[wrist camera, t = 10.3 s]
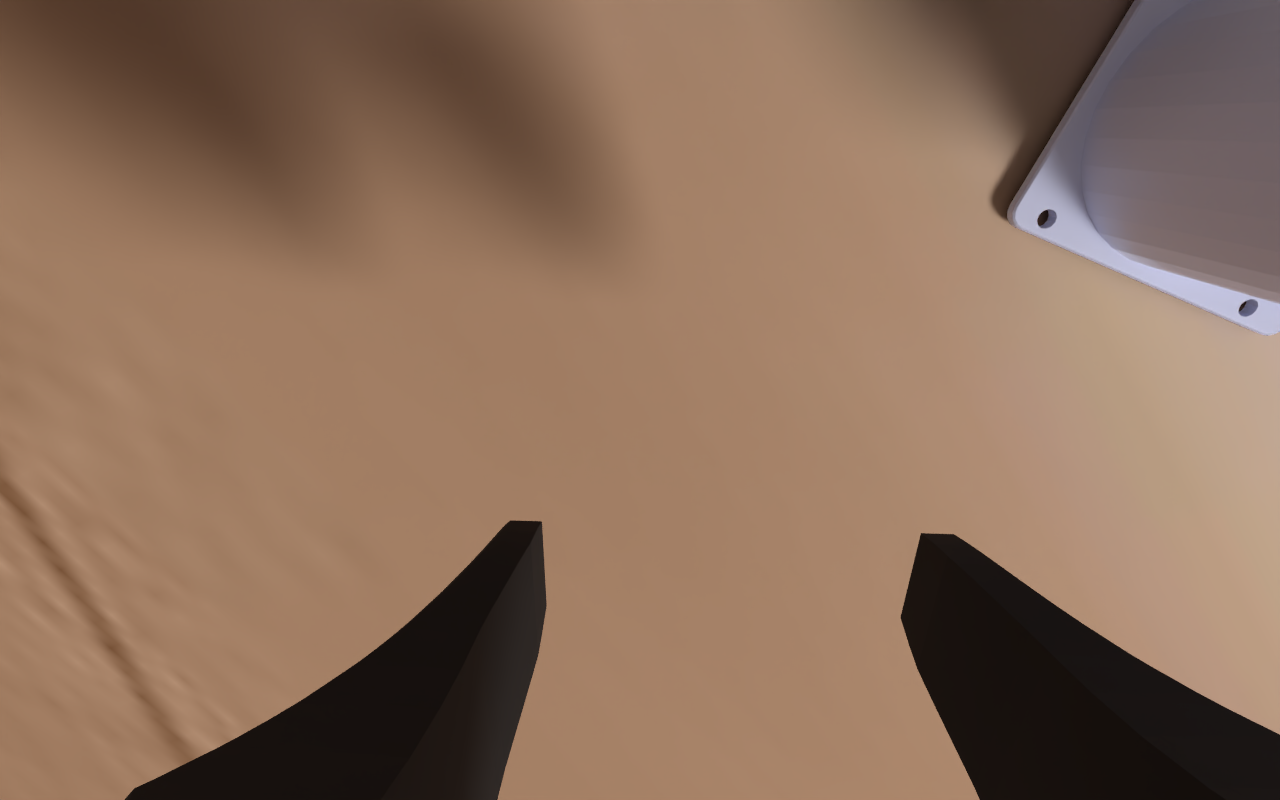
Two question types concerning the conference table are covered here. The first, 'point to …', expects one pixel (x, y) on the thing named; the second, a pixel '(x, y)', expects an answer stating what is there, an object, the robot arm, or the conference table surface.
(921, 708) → the conference table surface
